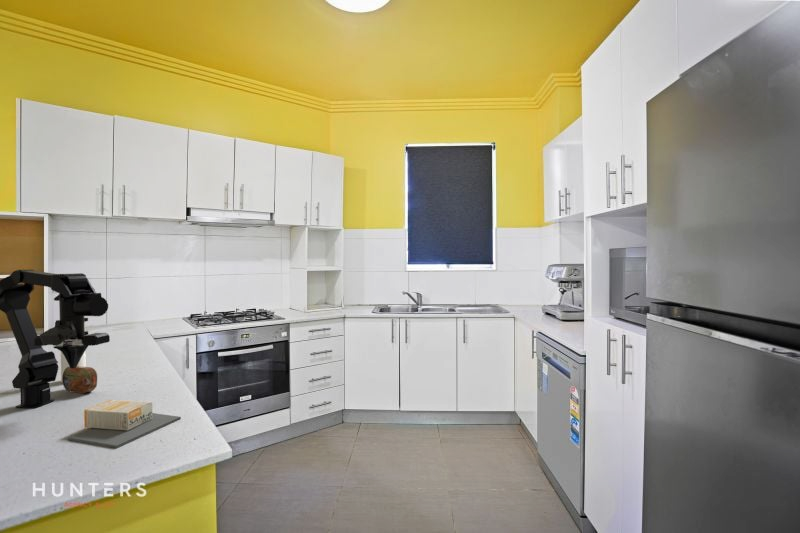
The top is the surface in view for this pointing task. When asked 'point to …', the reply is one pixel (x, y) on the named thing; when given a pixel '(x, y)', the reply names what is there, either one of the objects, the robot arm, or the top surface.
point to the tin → (79, 379)
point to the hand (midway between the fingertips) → (73, 368)
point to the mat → (123, 432)
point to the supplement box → (118, 414)
